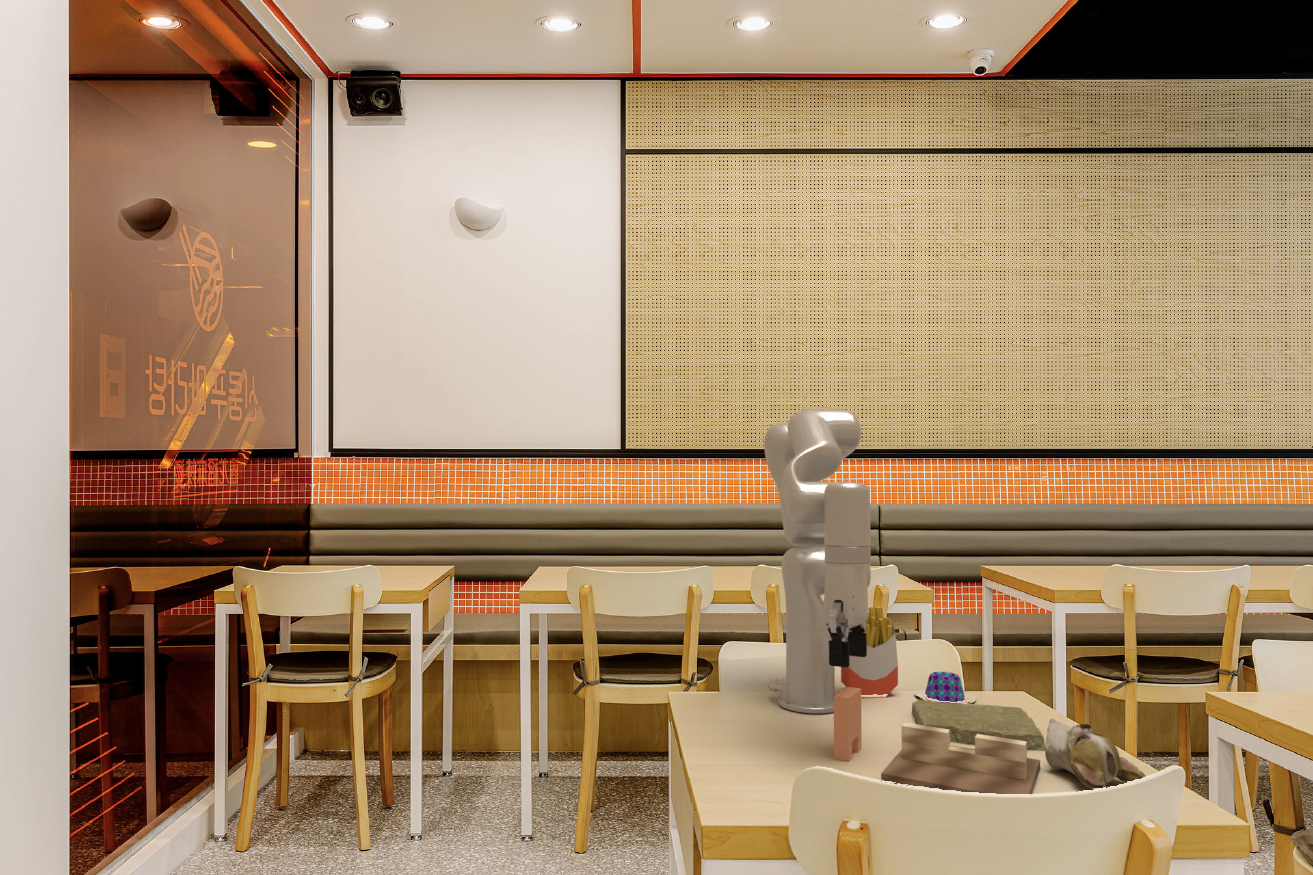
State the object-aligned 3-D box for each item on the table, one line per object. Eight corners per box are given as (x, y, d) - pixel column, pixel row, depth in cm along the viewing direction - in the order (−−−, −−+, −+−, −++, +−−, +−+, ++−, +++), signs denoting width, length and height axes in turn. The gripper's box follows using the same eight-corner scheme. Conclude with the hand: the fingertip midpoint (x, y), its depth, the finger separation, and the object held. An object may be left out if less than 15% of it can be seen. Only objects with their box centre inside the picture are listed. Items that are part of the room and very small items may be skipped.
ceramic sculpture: (1077, 705, 133) (1160, 739, 119) (1075, 758, 133) (1158, 799, 119) (1024, 711, 130) (1103, 747, 115) (1022, 766, 130) (1101, 808, 116)
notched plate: (833, 758, 133) (833, 695, 133) (846, 746, 139) (846, 686, 139) (848, 761, 132) (848, 698, 132) (861, 748, 138) (861, 688, 138)
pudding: (971, 694, 174) (970, 669, 174) (980, 709, 163) (980, 683, 163) (912, 690, 177) (911, 665, 177) (917, 705, 165) (917, 679, 165)
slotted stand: (881, 781, 123) (880, 739, 123) (910, 745, 139) (910, 708, 140) (1026, 809, 113) (1026, 763, 113) (1040, 767, 129) (1039, 727, 130)
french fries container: (898, 697, 170) (898, 609, 171) (849, 699, 168) (849, 610, 169) (888, 691, 175) (888, 606, 176) (840, 693, 173) (840, 607, 174)
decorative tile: (911, 715, 159) (911, 696, 159) (1022, 722, 155) (1022, 703, 155) (922, 746, 141) (922, 725, 141) (1048, 755, 137) (1048, 733, 137)
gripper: (841, 552, 146) (842, 650, 145) (808, 558, 131) (808, 667, 130) (883, 554, 142) (885, 654, 141) (854, 561, 127) (855, 673, 126)
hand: (848, 661), depth 135 cm, fingers open, 9 cm apart
